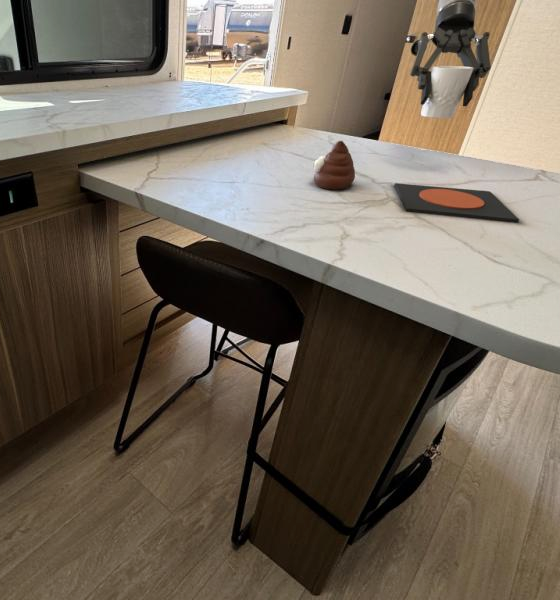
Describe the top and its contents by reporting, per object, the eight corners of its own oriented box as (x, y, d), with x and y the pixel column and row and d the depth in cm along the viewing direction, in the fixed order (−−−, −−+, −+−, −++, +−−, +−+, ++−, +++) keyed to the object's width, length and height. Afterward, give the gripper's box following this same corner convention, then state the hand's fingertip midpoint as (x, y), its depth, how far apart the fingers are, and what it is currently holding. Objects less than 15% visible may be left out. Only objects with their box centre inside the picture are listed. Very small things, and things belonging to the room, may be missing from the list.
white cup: (456, 115, 98) (473, 66, 92) (456, 120, 92) (474, 69, 87) (418, 112, 101) (433, 65, 96) (416, 117, 95) (431, 67, 90)
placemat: (488, 194, 86) (490, 189, 86) (518, 222, 73) (520, 217, 73) (394, 185, 91) (395, 181, 90) (405, 211, 78) (407, 206, 78)
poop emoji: (346, 193, 86) (358, 147, 81) (305, 186, 90) (314, 142, 85) (356, 181, 93) (368, 137, 88) (318, 175, 97) (327, 133, 92)
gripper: (498, 28, 97) (490, 114, 93) (401, 29, 102) (389, 110, 98) (517, -1, 90) (509, 91, 86) (411, 1, 95) (400, 87, 91)
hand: (445, 101), depth 92 cm, fingers closed on white cup, 8 cm apart
